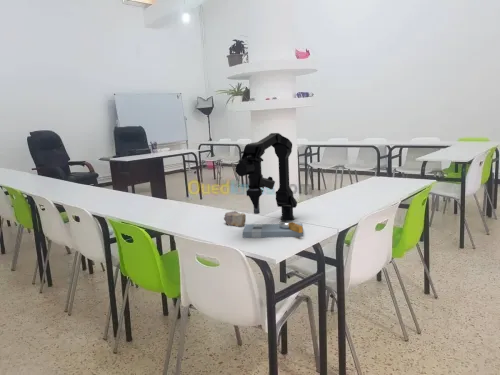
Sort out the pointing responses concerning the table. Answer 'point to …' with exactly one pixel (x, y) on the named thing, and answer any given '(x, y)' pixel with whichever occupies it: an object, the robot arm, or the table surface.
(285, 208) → the robot arm
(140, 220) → the table surface
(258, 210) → the pin
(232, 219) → the mineral specimen
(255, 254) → the table surface
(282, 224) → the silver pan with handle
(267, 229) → the plate
